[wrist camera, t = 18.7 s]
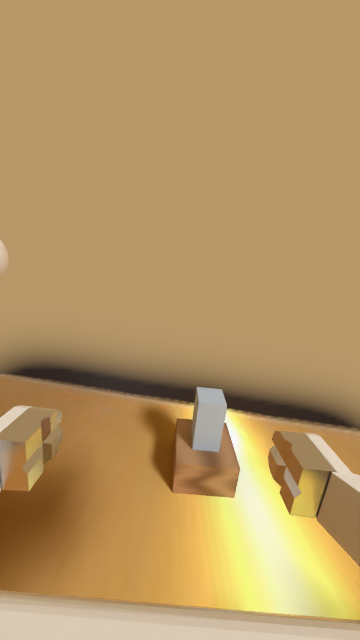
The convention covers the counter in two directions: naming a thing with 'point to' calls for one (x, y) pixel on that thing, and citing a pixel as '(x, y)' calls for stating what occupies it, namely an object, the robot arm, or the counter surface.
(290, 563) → the counter surface
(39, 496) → the counter surface
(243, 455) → the counter surface
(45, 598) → the robot arm
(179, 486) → the walnut block
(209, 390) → the slate block
